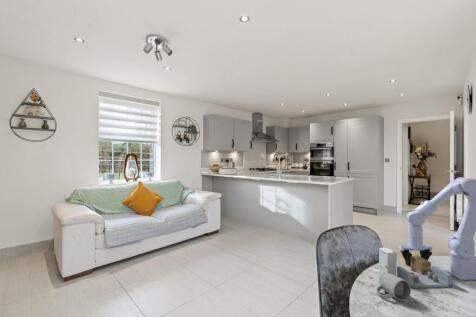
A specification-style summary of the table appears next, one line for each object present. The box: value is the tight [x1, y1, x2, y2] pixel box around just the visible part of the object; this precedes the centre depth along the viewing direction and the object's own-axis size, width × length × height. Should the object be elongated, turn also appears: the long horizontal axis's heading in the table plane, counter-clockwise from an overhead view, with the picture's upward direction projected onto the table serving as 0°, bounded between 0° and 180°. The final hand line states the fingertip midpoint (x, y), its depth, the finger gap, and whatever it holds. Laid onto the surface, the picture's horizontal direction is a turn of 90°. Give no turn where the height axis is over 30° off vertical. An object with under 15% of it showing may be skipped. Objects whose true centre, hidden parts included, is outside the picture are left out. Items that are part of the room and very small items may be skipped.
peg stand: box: [396, 265, 453, 289], centre depth 98 cm, size 17×8×5 cm, turn 89°
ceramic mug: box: [375, 273, 412, 302], centre depth 89 cm, size 11×8×8 cm
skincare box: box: [378, 247, 398, 276], centre depth 103 cm, size 6×4×12 cm
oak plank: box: [401, 250, 432, 275], centre depth 110 cm, size 12×4×6 cm, turn 179°
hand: (415, 265), depth 110 cm, fingers open, 7 cm apart
